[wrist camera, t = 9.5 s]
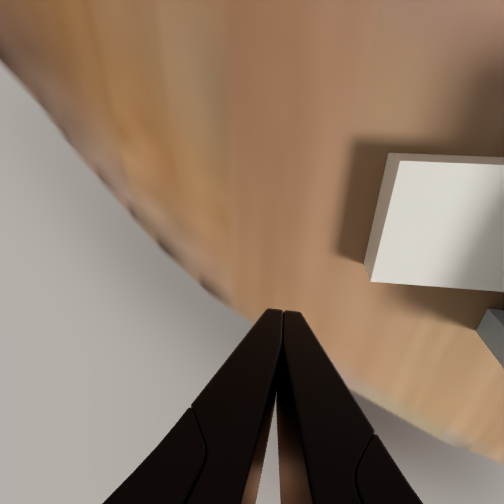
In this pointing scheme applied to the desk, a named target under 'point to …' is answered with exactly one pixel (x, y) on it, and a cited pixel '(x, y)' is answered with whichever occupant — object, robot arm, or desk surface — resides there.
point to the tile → (439, 222)
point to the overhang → (493, 332)
